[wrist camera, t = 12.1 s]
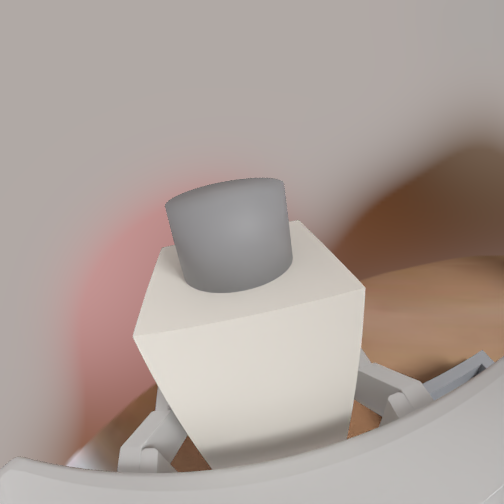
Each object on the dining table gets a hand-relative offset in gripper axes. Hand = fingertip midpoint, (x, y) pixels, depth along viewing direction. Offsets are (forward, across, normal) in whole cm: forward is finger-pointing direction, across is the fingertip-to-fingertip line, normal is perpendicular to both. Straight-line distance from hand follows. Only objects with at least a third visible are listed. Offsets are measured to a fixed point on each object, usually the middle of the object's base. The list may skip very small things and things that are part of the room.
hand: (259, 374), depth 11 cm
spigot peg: (-1, 0, +6) cm, 7 cm away
